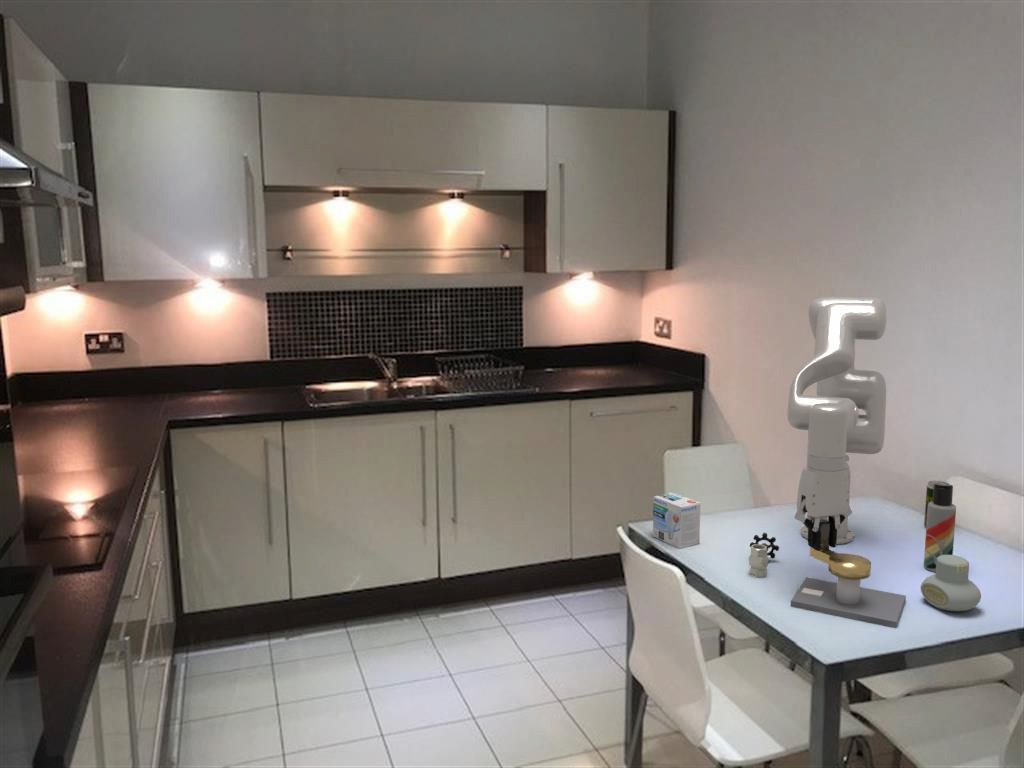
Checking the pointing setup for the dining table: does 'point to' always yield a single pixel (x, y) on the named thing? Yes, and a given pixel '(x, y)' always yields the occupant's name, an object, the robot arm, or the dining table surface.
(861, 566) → the brass knob with handle
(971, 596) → the air freshener
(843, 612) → the post base
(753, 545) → the valve
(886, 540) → the dining table surface
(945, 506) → the lotion bottle
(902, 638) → the dining table surface
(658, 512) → the light bulb box
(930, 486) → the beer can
